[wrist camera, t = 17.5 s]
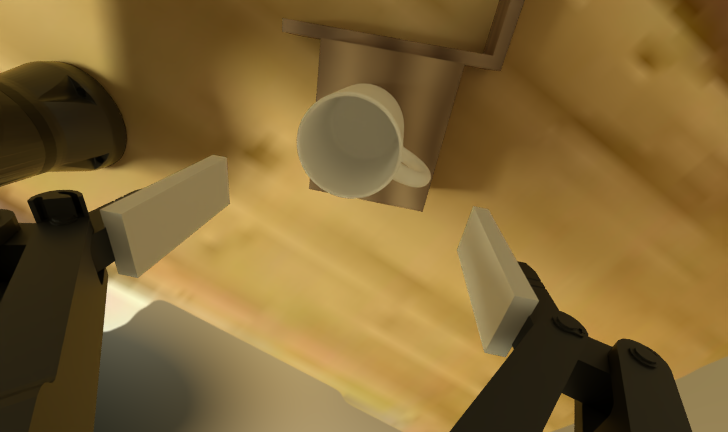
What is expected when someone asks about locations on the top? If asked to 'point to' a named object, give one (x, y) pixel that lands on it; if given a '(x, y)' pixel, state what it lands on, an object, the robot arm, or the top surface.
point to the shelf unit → (406, 83)
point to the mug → (357, 143)
